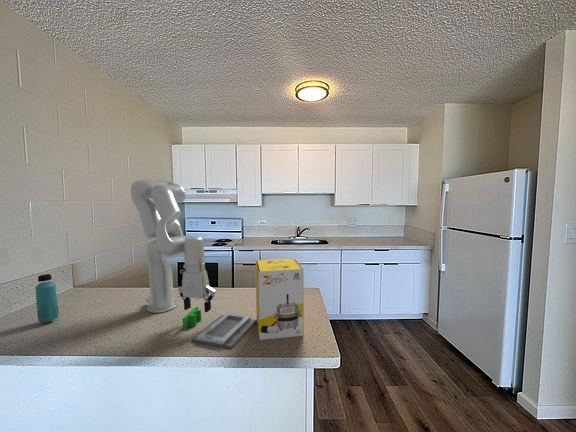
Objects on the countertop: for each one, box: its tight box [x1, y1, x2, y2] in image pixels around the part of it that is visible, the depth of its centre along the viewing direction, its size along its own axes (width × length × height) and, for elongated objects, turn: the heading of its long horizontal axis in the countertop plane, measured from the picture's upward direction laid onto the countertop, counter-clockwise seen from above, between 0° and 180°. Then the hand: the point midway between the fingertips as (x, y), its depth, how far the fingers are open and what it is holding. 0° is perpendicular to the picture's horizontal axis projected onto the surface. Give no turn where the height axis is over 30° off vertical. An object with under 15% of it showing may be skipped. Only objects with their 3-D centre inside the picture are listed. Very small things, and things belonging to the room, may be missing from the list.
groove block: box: [190, 312, 257, 350], centre depth 101 cm, size 16×20×2 cm
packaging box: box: [255, 258, 304, 341], centre depth 103 cm, size 16×16×25 cm
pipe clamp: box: [182, 306, 202, 330], centre depth 108 cm, size 11×4×5 cm, turn 173°
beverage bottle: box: [34, 273, 60, 323], centre depth 109 cm, size 6×7×20 cm
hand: (197, 309), depth 107 cm, fingers open, 9 cm apart
